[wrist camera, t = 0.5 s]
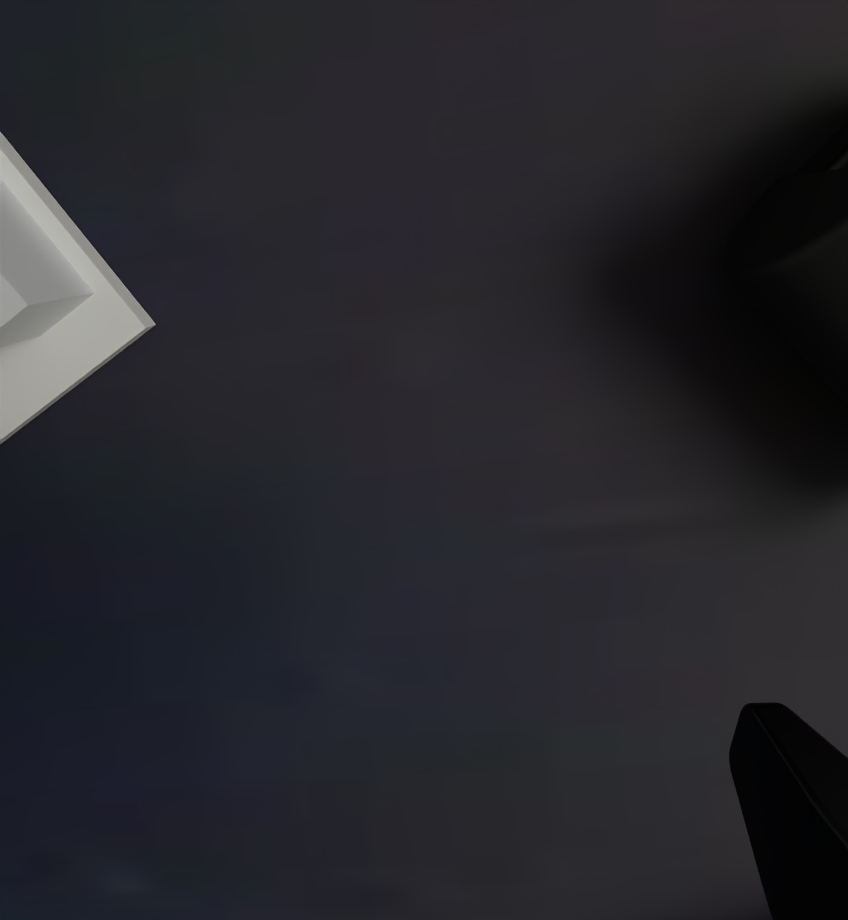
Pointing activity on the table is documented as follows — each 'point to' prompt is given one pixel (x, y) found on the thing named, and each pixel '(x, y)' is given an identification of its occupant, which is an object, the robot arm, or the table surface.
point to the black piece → (802, 260)
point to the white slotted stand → (52, 300)
